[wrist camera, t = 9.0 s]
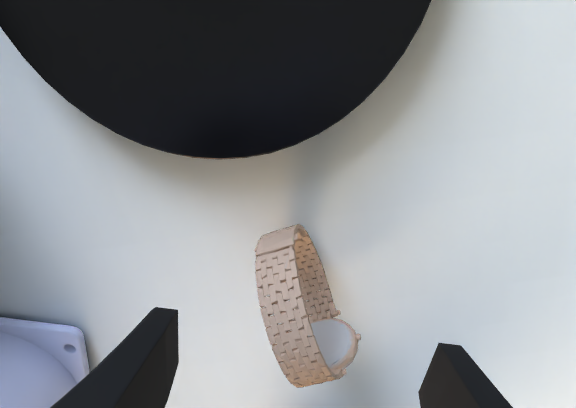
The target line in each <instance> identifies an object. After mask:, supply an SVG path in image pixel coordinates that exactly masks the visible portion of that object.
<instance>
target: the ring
mask: <svg viewBox="0 0 576 408" xmlns="http://www.w3.org/2000/svg"><path fill="white" fill-rule="evenodd" d="M254 251H255V252H256V261H255V270H256V272H255V273H256V282H257V288H261V289H257V292H258V298H259V304H260V307H261V308H262V307H264V308H262V309H261V313H262V317H263V321H264V324H265V327H267V328H266V332H267V335H268V338H269V341H270V344H271V345H272V350H273V352H274V355H275V357H276V359H277V361H278V363H279V365H280V367H281V369H282V371H283V373H284V375H286V378H287V379H288V380H289V382H290V383H291V384H293V385H294V386H296V387H297V388H299V387H304V386H310V385H314V384H320V383H323V382H326V381H333V380H335V379H340V378H341V377H343V375H345V374H346V369H345V368H346V367H347V366H348V365H349V364H350V363H351V362H352V361H353V359H354V357H355V355H356V353H357V349H358V340H361V336H360V334H356V333H355V331H354V330H353V328H352V327H351V326H350V325H349V324H347V323H346V322H344V321H343V320H339V319H333V317H336V316H338V315H340V311H339V310H337V311H336V308H335V306H334V303H333V300H332V296H331V292H330V289H329V285H328V282H327V279H326V276H325V272H324V269H323V267H322V264H321V263H320V259H319V256H318V254H317V251H316V249H315V247H314V245H313V242H312V241H311V239H310V237H309V235H308V233H307V232H306V230H305V229H304V227H303V226H301V225H300V224H297V225H293V226H291V227H287V228H283V229H281V230H277V231H274V232H270V233H268V234H265V235H263V236H261V238H260V239H259V240H258V244H257V245H256V248H255V250H254ZM258 256H259V257H258ZM315 270H317V271H315ZM322 275H324V276H322ZM315 277H316V278H315ZM263 278H264V279H263ZM293 279H294V280H293ZM307 279H308V280H307ZM304 280H305V281H304ZM286 281H287V282H286ZM320 282H323V283H320ZM273 284H274V285H273ZM310 285H312V286H310ZM326 288H328V289H326ZM289 289H292V290H289ZM319 290H321V291H319ZM280 292H281V293H280ZM310 292H312V293H310ZM308 293H309V294H308ZM267 295H270V296H267ZM266 296H267V297H266ZM323 296H326V297H323ZM298 297H300V298H298ZM297 298H298V299H297ZM314 298H318V299H314ZM288 300H290V301H288ZM306 300H309V301H306ZM285 301H286V302H285ZM329 302H330V303H329ZM273 304H275V305H273ZM321 304H324V305H321ZM265 306H266V307H265ZM312 306H315V307H312ZM297 308H298V309H297ZM294 309H295V310H294ZM328 310H330V311H328ZM326 311H327V312H326ZM318 313H319V314H318ZM272 314H274V315H273V316H270V315H272ZM311 314H312V316H309V315H311ZM302 317H303V318H302ZM293 319H295V320H293ZM278 323H282V324H279V325H278ZM268 326H269V327H268ZM290 330H292V331H290ZM275 343H277V344H275Z"/></svg>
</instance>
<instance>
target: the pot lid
mask: <svg viewBox="0 0 576 408" xmlns="http://www.w3.org/2000/svg"><path fill="white" fill-rule="evenodd" d="M430 3H431V0H0V27H1V28H2V30H3V31H4V32H5V34H6V35H7V36H8V38H9V39H10V40H11V42H12V43H13V44H14V45H15V47H16V48H17V49H18V51H19V52H20V53H21V55H22V56H23V57H24V58H25V59H26V60H27V62H28V63H29V64H30V65H31V66H32V67H33V68H34V69H35V70H36V71H37V73H38V74H39V75H40V76H41V77H42V78H43V79H44V80H45V81H46V82H47V83H48V84H49V85H50V86H51V87H53V88H54V89H55V90H56V91H57V92H58V93H59V94H60V95H61V96H63V97H64V98H65V99H66V100H67V101H68V102H70V103H71V104H72V105H74V106H75V107H76V108H78V109H79V110H80V111H82V112H83V113H85V114H86V115H87V116H89V117H90V118H91V119H93V120H95V121H96V122H98V123H100V124H102V125H103V126H105V127H107V128H108V129H110V130H112V131H114V132H115V133H117V134H119V135H121V136H124V137H126V138H128V139H130V140H133V141H135V142H137V143H140V144H142V145H145V146H148V147H151V148H154V149H157V150H161V151H164V152H167V153H172V154H177V155H182V156H187V157H193V158H206V159H235V158H247V157H252V156H258V155H263V154H269V153H272V152H275V151H278V150H282V149H285V148H288V147H291V146H294V145H296V144H298V143H301V142H303V141H305V140H307V139H309V138H311V137H313V136H315V135H318V134H319V133H321V132H323V131H324V130H326V129H327V128H329V127H330V126H332V125H334V124H335V123H337V122H338V121H340V120H341V119H343V118H344V117H345V116H346V115H348V114H349V113H350V112H351V111H352V110H354V109H355V108H356V107H357V106H359V105H360V104H361V103H362V102H363V101H364V100H365V99H366V98H367V97H368V96H369V95H370V94H371V93H372V92H373V91H374V90H375V89H376V88H377V87H378V86H379V85H380V84H381V83H382V81H383V80H384V79H385V78H386V77H387V75H388V74H389V73H390V71H391V70H392V69H393V67H394V66H395V65H396V63H397V62H398V61H399V59H400V58H401V57H402V55H403V54H404V52H405V51H406V49H407V47H408V46H409V44H410V42H411V40H412V39H413V37H414V35H415V34H416V32H417V30H418V28H419V27H420V25H421V23H422V21H423V18H424V16H425V14H426V12H427V9H428V7H429V5H430Z"/></svg>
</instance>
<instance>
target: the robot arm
mask: <svg viewBox="0 0 576 408" xmlns="http://www.w3.org/2000/svg"><path fill="white" fill-rule="evenodd" d="M178 362H179V361H178V310H174V309H166V308H158V307H155V308H154V309H152V310H151V311H150V312H149V313H148V315H147V316H146V317H145V318H144V319H143V320H142V321H141V322H140V323H139V324H138V325H137V326H136V328H135V329H134V330H133V331H132V332H131V333H130V334H129V335H128V336H127V337H126V338H125V339H124V340H123V341H122V342H121V343H120V344H119V345H118V346H117V347H116V348H115V349H114V350H113V351H112V352H111V353H110V354H109V355H108V356H107V357H106V358H105V359H104V360H103V361H102V362H101V363H100V364H99V365H98V366H97V367H95V368H94V369H93V370H92V371H91V372H90V371H89V364H88V358H87V352H86V346H85V340H84V335H83V333H82V331H81V330H80V329H79V328H77V327H74V326H69V325H61V324H52V323H44V322H36V321H28V320H20V319H12V318H3V317H0V408H165V405H166V403H167V400H168V397H169V394H170V390H171V387H172V384H173V380H174V377H175V373H176V370H177V366H178ZM419 399H420V406H421V408H513V407H512V406H511V405H510V404H509V403H508V401H507V400H506V399H505V398H504V397H503V396H502V394H501V393H500V392H499V391H498V390H497V388H496V387H495V386H494V385H493V384H492V382H491V381H490V380H489V379H488V378H487V376H486V375H485V374H484V373H483V371H482V370H481V369H480V368H479V367H478V365H477V364H476V363H475V362H474V361H473V359H472V358H471V357H470V356H469V355H468V353H467V352H466V351H465V350H464V349H463V348H462V346H460V345H452V344H444V343H439V344H438V346H437V348H436V351H435V353H434V356H433V358H432V361H431V363H430V366H429V368H428V370H427V373H426V375H425V378H424V380H423V383H422V385H421V388H420V390H419Z"/></svg>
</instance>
